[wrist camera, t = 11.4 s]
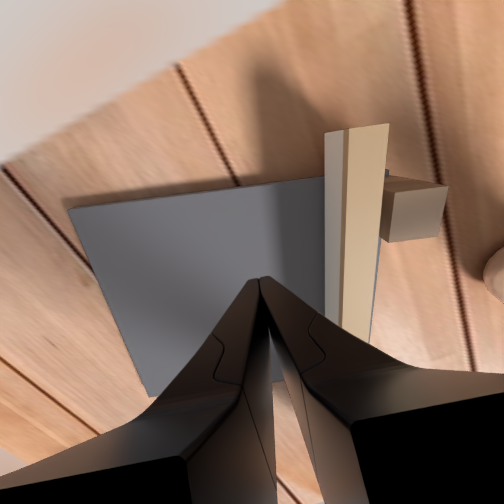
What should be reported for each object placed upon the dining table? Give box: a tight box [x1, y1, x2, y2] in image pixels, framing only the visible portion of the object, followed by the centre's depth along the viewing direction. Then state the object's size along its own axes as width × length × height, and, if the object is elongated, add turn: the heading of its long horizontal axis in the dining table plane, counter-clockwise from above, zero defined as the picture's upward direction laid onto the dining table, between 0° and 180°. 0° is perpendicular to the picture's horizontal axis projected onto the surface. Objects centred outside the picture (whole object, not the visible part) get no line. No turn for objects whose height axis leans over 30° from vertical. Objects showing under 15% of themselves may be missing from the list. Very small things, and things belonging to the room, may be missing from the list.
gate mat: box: [67, 169, 389, 397], centre depth 22 cm, size 21×24×1 cm
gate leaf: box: [325, 123, 389, 343], centre depth 17 cm, size 17×2×4 cm, turn 7°
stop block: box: [379, 175, 449, 243], centre depth 17 cm, size 3×3×6 cm
